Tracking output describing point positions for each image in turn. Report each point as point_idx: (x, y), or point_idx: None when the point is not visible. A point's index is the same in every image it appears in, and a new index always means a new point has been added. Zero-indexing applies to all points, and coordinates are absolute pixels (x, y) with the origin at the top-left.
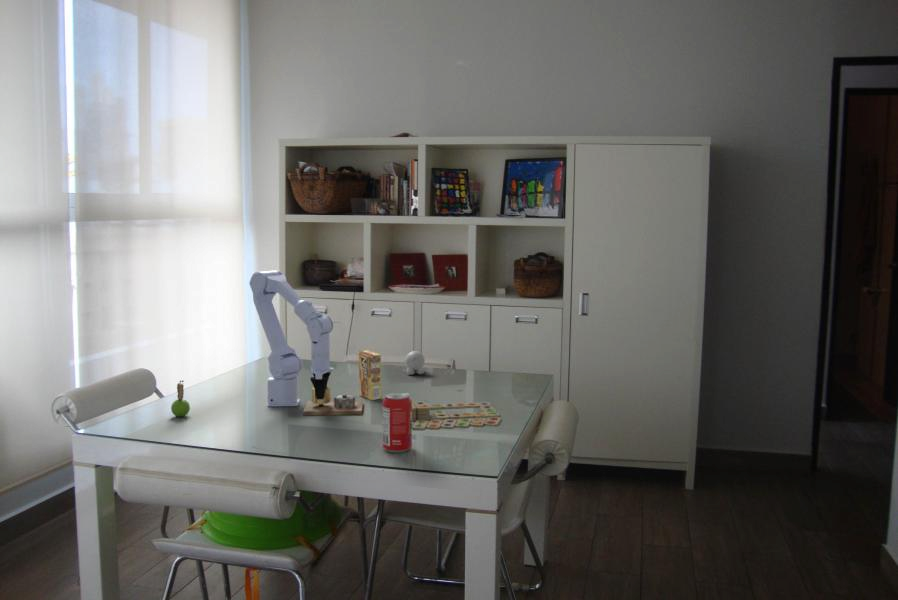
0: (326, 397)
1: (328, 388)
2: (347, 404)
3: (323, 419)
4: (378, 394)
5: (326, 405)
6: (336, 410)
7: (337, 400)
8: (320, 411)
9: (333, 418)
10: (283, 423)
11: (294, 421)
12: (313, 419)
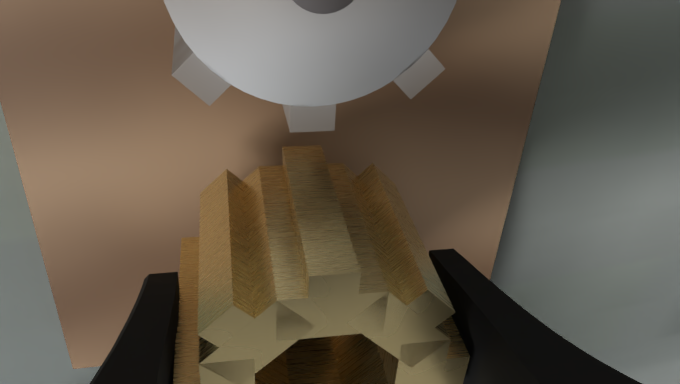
0: (415, 228)
1: (369, 295)
2: None
3: (653, 126)
4: None
5: None
6: (529, 30)
7: (433, 64)
8: (508, 191)
9: (657, 34)
10: (643, 361)
11: (622, 315)
12: (620, 205)
